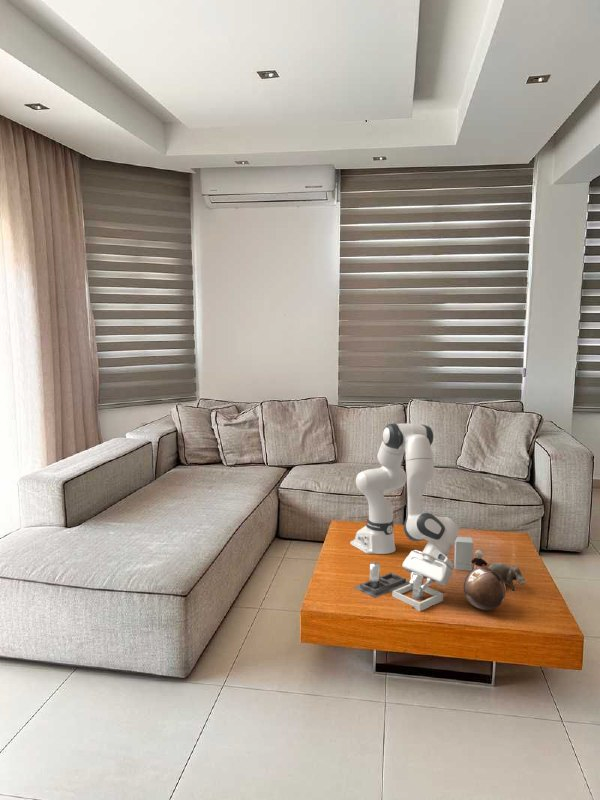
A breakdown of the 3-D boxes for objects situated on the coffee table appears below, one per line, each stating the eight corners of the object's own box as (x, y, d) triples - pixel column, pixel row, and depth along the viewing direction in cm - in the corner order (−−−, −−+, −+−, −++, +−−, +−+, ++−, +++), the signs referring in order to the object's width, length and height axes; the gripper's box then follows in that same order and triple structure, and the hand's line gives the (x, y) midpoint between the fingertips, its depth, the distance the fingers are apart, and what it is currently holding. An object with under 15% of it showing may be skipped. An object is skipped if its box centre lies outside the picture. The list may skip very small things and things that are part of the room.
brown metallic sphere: (454, 606, 225) (455, 567, 224) (479, 595, 234) (480, 558, 233) (488, 621, 213) (490, 581, 212) (513, 609, 223) (514, 570, 221)
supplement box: (472, 571, 257) (473, 542, 256) (454, 569, 259) (455, 541, 257) (471, 564, 265) (472, 537, 263) (454, 563, 266) (454, 535, 265)
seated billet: (367, 588, 239) (367, 563, 238) (374, 585, 241) (374, 561, 240) (374, 591, 236) (375, 567, 235) (381, 588, 238) (382, 564, 237)
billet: (410, 599, 231) (410, 574, 230) (416, 596, 233) (417, 571, 232) (418, 603, 228) (418, 577, 227) (424, 600, 230) (425, 575, 229)
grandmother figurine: (468, 580, 248) (469, 550, 247) (469, 576, 252) (470, 547, 250) (487, 582, 246) (489, 553, 244) (488, 579, 249) (489, 549, 248)
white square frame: (392, 598, 232) (392, 591, 231) (415, 588, 240) (415, 581, 240) (419, 611, 221) (419, 603, 221) (442, 600, 230) (443, 593, 229)
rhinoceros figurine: (484, 570, 252) (505, 548, 244) (511, 595, 246) (533, 573, 238) (477, 578, 246) (498, 555, 238) (504, 604, 240) (526, 581, 232)
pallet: (353, 589, 240) (353, 583, 239) (390, 575, 253) (390, 569, 253) (374, 600, 230) (375, 594, 230) (412, 584, 244) (412, 578, 244)
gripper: (409, 544, 241) (392, 574, 236) (451, 559, 225) (434, 591, 220) (416, 552, 244) (399, 581, 239) (458, 568, 228) (441, 599, 223)
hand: (416, 586), depth 230 cm, fingers closed on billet, 4 cm apart
